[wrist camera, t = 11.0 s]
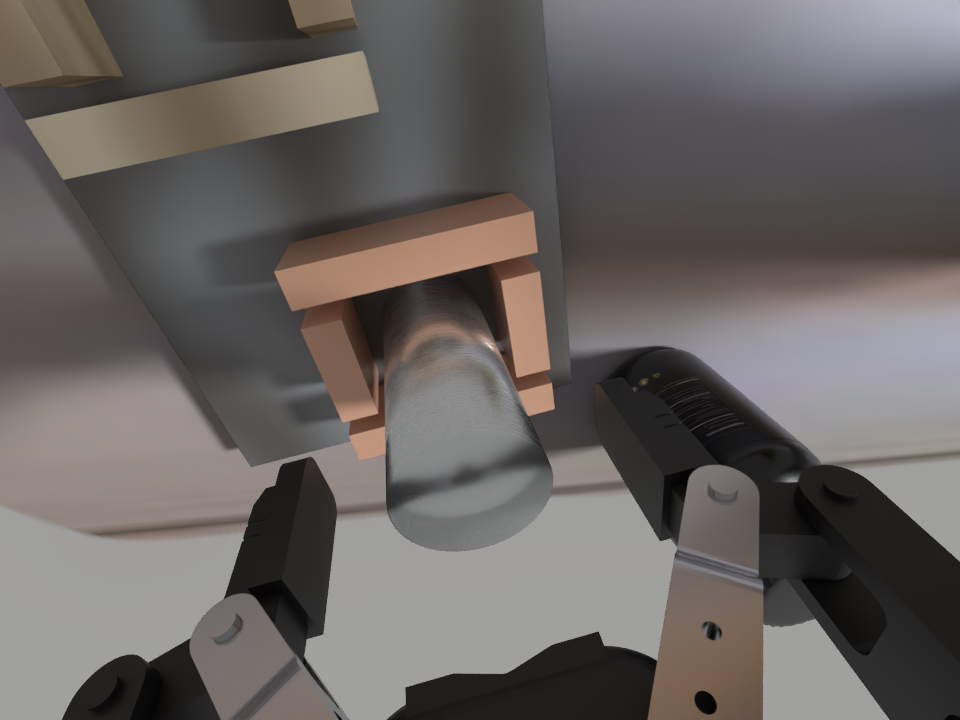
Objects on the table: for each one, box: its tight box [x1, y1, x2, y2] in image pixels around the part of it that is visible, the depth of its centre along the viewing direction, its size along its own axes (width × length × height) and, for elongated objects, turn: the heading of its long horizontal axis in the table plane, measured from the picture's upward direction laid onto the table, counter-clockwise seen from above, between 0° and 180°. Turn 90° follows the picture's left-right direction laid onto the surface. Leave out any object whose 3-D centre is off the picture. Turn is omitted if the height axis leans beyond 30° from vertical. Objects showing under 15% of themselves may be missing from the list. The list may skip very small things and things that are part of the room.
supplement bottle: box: [609, 349, 822, 627], centre depth 21 cm, size 7×7×12 cm
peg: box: [383, 273, 553, 551], centre depth 15 cm, size 4×4×10 cm
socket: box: [274, 192, 555, 461], centre depth 18 cm, size 8×8×3 cm
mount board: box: [0, 0, 572, 467], centre depth 15 cm, size 16×23×4 cm
